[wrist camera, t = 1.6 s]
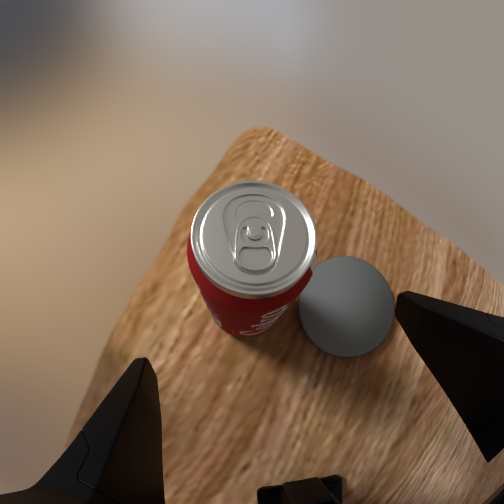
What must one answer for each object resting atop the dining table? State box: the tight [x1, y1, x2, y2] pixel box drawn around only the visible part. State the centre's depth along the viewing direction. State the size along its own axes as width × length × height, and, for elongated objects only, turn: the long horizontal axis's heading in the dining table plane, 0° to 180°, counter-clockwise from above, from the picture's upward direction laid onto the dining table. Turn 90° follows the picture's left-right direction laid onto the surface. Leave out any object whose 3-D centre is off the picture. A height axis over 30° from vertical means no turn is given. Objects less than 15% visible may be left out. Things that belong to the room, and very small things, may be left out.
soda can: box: [187, 181, 317, 337], centre depth 16 cm, size 5×5×12 cm
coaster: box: [298, 256, 394, 357], centre depth 21 cm, size 8×8×1 cm
